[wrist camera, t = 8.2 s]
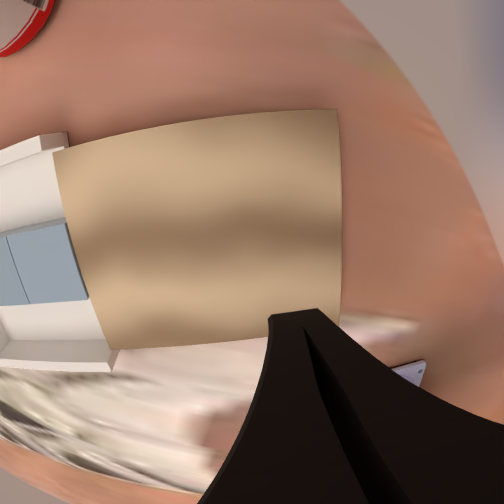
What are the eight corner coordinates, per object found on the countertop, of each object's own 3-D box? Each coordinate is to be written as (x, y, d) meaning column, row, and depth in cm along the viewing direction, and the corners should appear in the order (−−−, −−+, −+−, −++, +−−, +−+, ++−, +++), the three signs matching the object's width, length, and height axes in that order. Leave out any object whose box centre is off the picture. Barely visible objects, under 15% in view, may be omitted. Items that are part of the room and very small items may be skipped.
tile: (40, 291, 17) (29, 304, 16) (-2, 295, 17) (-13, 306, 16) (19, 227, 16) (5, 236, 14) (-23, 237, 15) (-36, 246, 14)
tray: (122, 342, 20) (111, 371, 17) (11, 343, 20) (-5, 365, 17) (66, 131, 14) (39, 135, 12) (-47, 176, 14) (-73, 187, 11)
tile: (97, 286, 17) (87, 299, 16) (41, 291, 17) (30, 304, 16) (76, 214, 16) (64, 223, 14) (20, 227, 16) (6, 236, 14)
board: (329, 307, 20) (339, 325, 18) (118, 330, 19) (110, 349, 18) (324, 110, 15) (337, 109, 13) (69, 148, 15) (52, 152, 13)
